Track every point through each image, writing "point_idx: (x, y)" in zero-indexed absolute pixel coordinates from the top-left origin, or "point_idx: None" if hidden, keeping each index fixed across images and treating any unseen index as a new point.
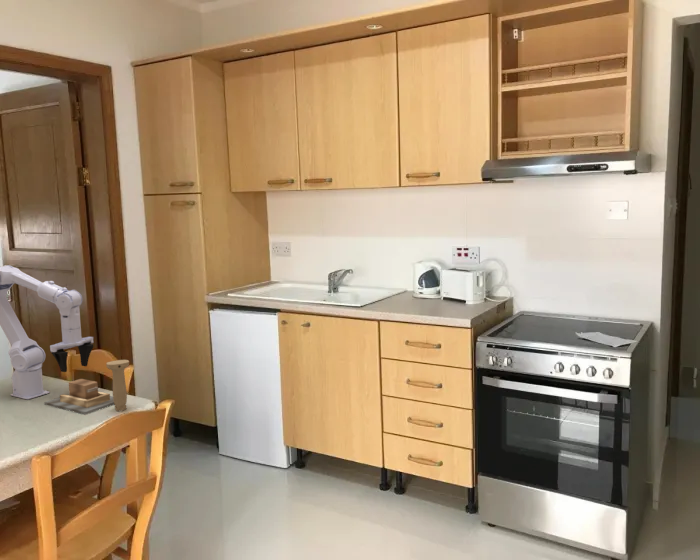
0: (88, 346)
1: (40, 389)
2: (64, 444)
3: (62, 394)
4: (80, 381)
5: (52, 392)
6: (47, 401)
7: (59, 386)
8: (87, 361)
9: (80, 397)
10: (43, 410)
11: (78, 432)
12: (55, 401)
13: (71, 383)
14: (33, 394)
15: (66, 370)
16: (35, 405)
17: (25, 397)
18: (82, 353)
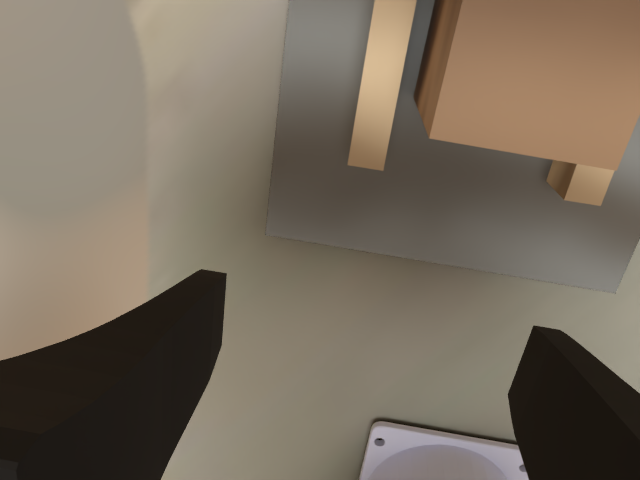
0: (16, 448)
1: (433, 469)
2: None
3: (573, 199)
4: (551, 42)
5: (350, 415)
6: (600, 279)
7: (235, 456)
8: (179, 289)
9: None
10: None
11: None
12: (590, 220)
13: (637, 109)
14: (484, 462)
15: (547, 332)
16: (636, 326)
17: (525, 475)
18: (143, 464)
